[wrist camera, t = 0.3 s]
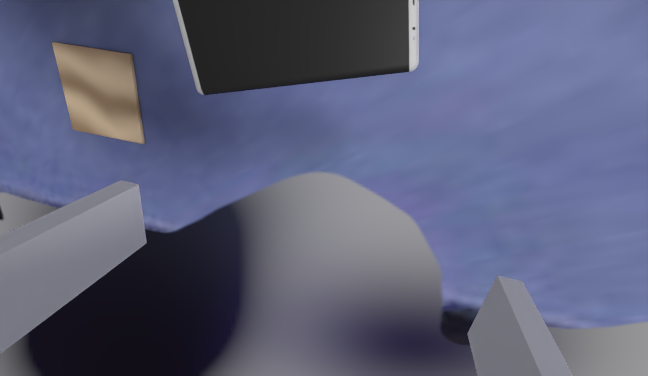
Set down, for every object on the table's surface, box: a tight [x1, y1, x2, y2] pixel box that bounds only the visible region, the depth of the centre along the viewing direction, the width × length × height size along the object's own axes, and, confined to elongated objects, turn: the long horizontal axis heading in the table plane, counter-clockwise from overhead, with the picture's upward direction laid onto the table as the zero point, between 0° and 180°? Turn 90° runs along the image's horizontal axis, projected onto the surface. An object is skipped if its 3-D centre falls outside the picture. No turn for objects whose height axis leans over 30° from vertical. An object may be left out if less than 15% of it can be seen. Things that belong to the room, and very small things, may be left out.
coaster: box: [52, 42, 145, 144], centre depth 42 cm, size 12×12×1 cm
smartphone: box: [173, 0, 419, 95], centre depth 33 cm, size 13×27×2 cm, turn 97°
